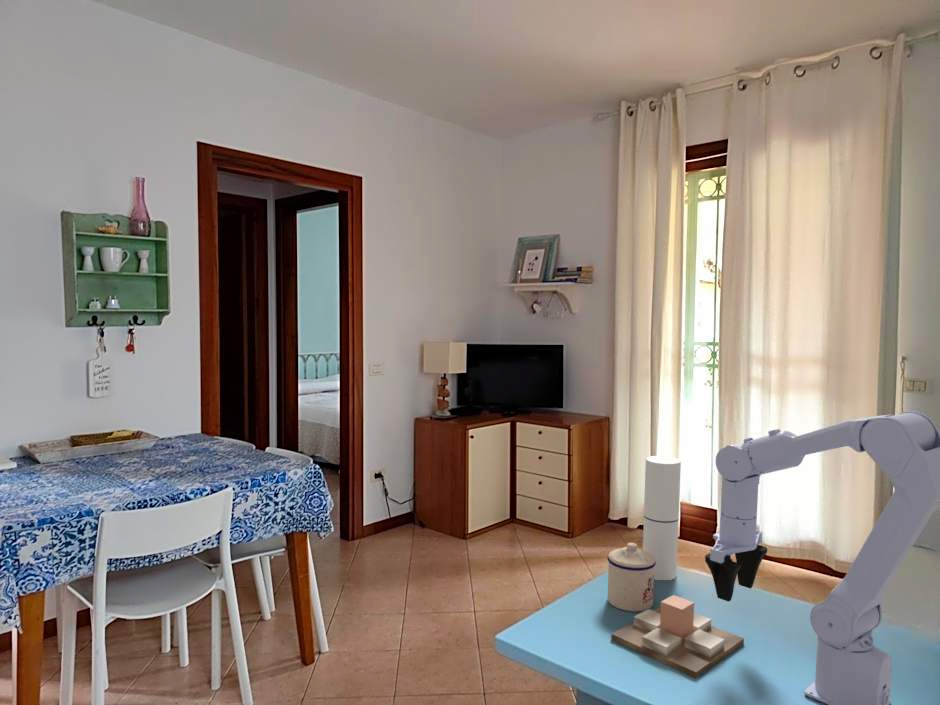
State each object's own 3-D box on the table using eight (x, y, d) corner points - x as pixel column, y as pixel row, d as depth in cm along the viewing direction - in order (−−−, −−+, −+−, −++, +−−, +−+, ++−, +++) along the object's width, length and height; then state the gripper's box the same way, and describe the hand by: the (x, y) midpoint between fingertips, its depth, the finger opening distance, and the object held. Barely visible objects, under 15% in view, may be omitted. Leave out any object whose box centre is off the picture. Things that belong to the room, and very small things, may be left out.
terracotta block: (692, 636, 117) (694, 602, 116) (680, 643, 114) (682, 609, 114) (672, 627, 120) (673, 594, 119) (659, 635, 117) (661, 601, 117)
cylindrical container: (641, 578, 143) (645, 462, 141) (642, 565, 150) (646, 454, 148) (676, 582, 141) (680, 465, 139) (676, 569, 148) (680, 457, 146)
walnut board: (743, 643, 116) (744, 629, 116) (695, 678, 106) (696, 663, 105) (661, 611, 128) (662, 598, 128) (611, 639, 117) (611, 625, 117)
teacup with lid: (653, 616, 126) (655, 555, 125) (604, 609, 129) (605, 549, 128) (655, 589, 138) (657, 533, 137) (609, 583, 140) (611, 529, 139)
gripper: (736, 500, 122) (732, 573, 123) (694, 517, 112) (691, 596, 113) (775, 510, 117) (771, 586, 118) (735, 528, 107) (731, 611, 108)
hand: (735, 592), depth 115 cm, fingers open, 7 cm apart
